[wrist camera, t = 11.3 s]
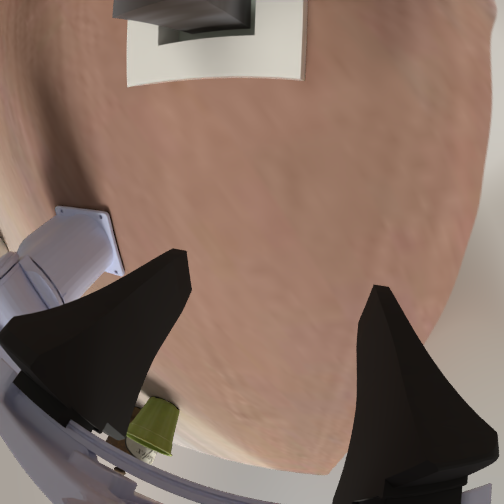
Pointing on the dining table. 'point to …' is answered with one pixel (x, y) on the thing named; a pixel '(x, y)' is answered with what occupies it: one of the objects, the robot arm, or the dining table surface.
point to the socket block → (223, 48)
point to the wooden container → (132, 447)
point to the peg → (187, 14)
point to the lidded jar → (3, 248)
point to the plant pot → (155, 425)
